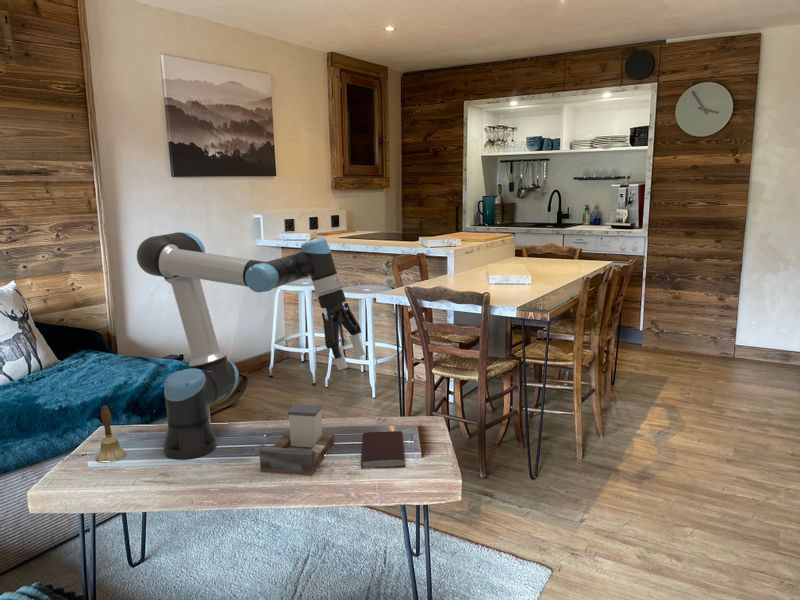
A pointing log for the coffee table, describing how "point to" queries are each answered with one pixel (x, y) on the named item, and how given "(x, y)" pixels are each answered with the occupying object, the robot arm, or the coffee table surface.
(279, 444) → the dark open tray
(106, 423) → the hand bell
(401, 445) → the book
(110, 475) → the coffee table surface
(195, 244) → the robot arm
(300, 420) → the beige upright block
